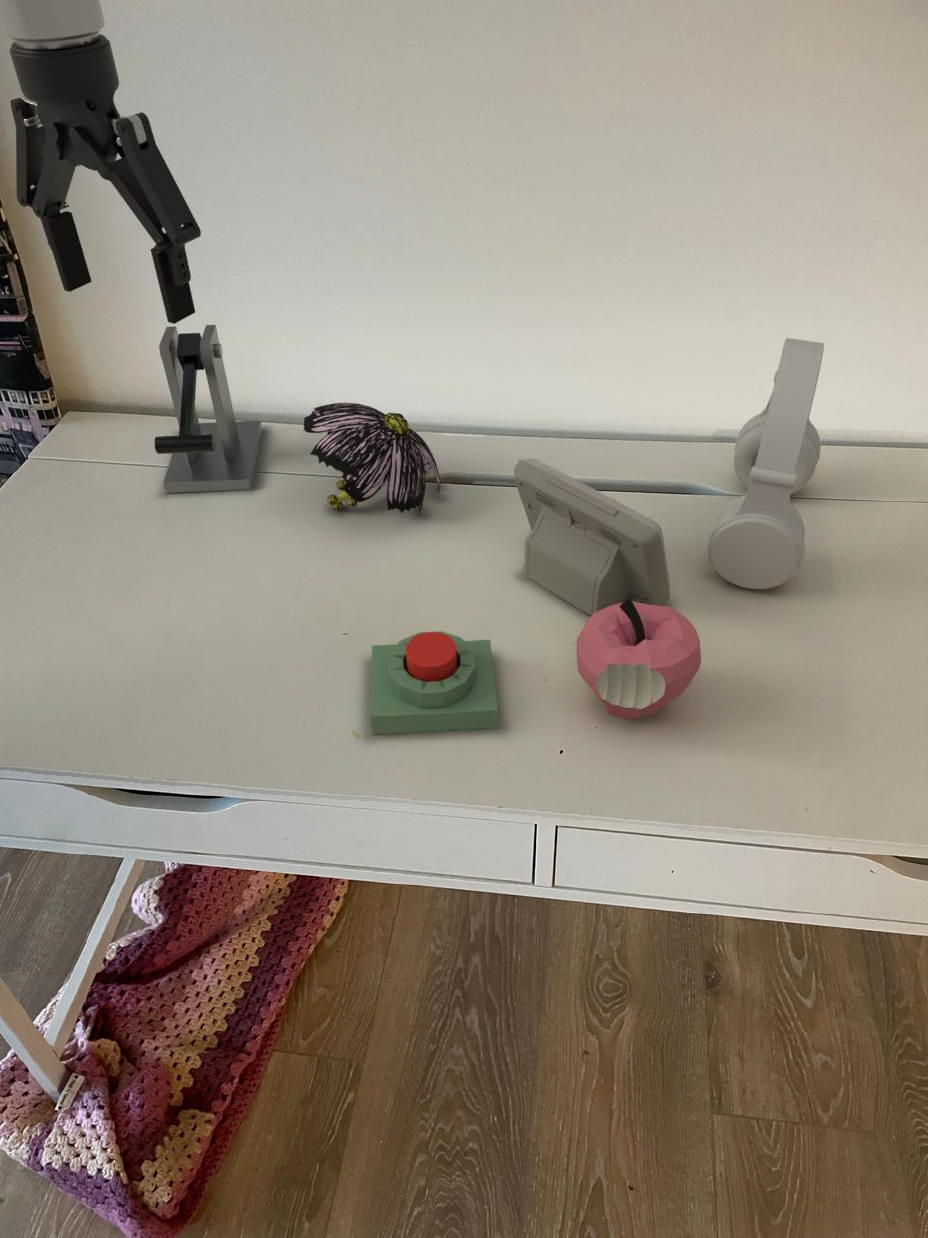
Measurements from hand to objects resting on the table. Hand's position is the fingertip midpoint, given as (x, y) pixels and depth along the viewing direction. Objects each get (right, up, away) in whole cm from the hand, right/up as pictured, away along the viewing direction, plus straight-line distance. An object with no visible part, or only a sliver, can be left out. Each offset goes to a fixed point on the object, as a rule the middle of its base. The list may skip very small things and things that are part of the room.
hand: (128, 301), depth 87 cm
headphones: (+61, -21, +6) cm, 64 cm away
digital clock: (+43, -26, +1) cm, 50 cm away
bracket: (+4, -12, +17) cm, 21 cm away
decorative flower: (+22, -17, +11) cm, 30 cm away
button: (+29, -33, -12) cm, 45 cm away
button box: (+29, -36, -9) cm, 47 cm away
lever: (+4, -8, +7) cm, 11 cm away
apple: (+45, -36, -10) cm, 59 cm away
